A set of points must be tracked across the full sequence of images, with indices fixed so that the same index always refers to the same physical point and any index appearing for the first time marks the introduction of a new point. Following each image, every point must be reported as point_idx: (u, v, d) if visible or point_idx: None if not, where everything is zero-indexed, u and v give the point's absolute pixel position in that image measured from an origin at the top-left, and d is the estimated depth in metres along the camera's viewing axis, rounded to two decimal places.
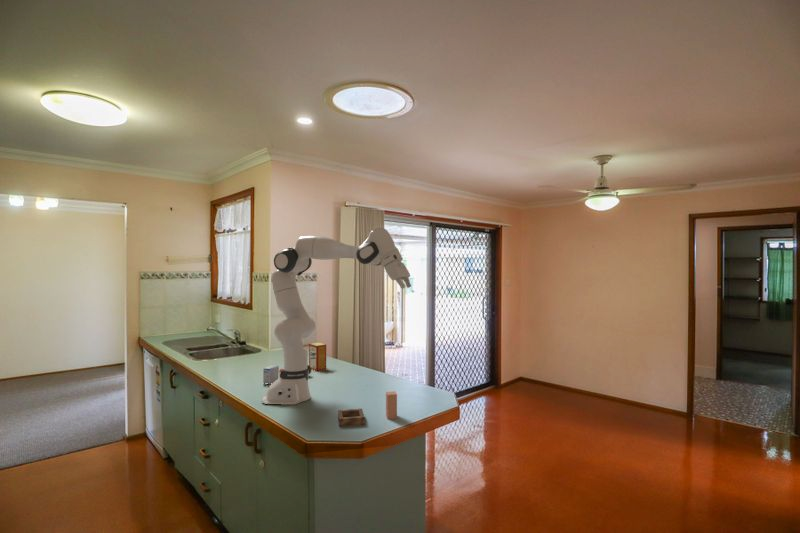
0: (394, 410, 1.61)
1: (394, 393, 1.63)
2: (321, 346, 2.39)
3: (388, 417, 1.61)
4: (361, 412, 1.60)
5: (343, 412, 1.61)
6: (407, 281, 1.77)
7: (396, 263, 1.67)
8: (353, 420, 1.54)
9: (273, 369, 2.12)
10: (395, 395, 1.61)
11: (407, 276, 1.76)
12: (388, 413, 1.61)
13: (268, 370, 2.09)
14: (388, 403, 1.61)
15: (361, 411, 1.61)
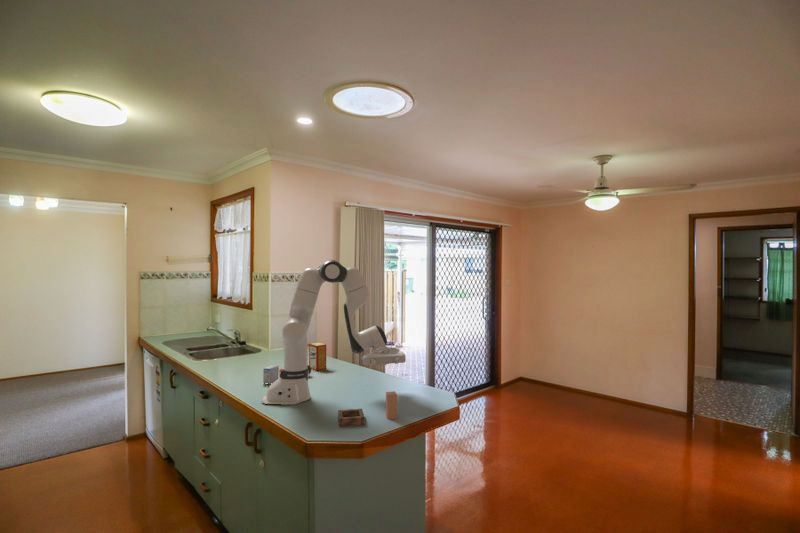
0: (394, 410, 1.61)
1: (394, 393, 1.63)
2: (321, 346, 2.39)
3: (388, 417, 1.61)
4: (361, 412, 1.60)
5: (343, 412, 1.61)
6: None
7: None
8: (353, 420, 1.54)
9: (273, 369, 2.12)
10: (395, 395, 1.61)
11: None
12: (388, 413, 1.61)
13: (268, 370, 2.09)
14: (388, 403, 1.61)
15: (361, 411, 1.61)
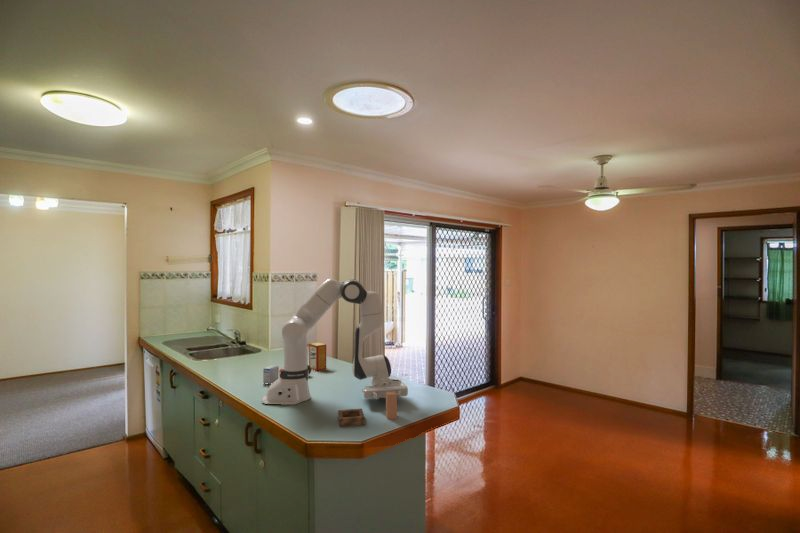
0: (394, 410, 1.61)
1: (394, 393, 1.63)
2: (321, 346, 2.39)
3: (388, 417, 1.61)
4: (361, 412, 1.60)
5: (343, 412, 1.61)
6: None
7: None
8: (353, 420, 1.54)
9: (273, 369, 2.12)
10: (395, 395, 1.61)
11: None
12: (388, 413, 1.61)
13: (268, 370, 2.09)
14: (388, 403, 1.61)
15: (361, 411, 1.61)
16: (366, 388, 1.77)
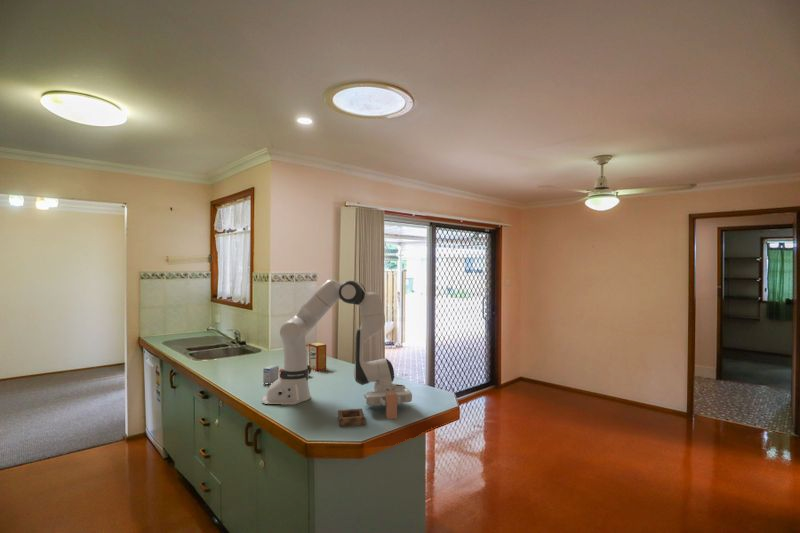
0: (394, 409, 1.61)
1: (394, 393, 1.63)
2: (321, 346, 2.39)
3: (388, 417, 1.61)
4: (361, 412, 1.60)
5: (343, 412, 1.61)
6: None
7: None
8: (353, 420, 1.54)
9: (273, 369, 2.12)
10: (395, 395, 1.61)
11: (379, 403, 1.66)
12: (388, 413, 1.61)
13: (268, 370, 2.09)
14: (388, 403, 1.61)
15: (361, 411, 1.61)
16: (368, 394, 1.68)
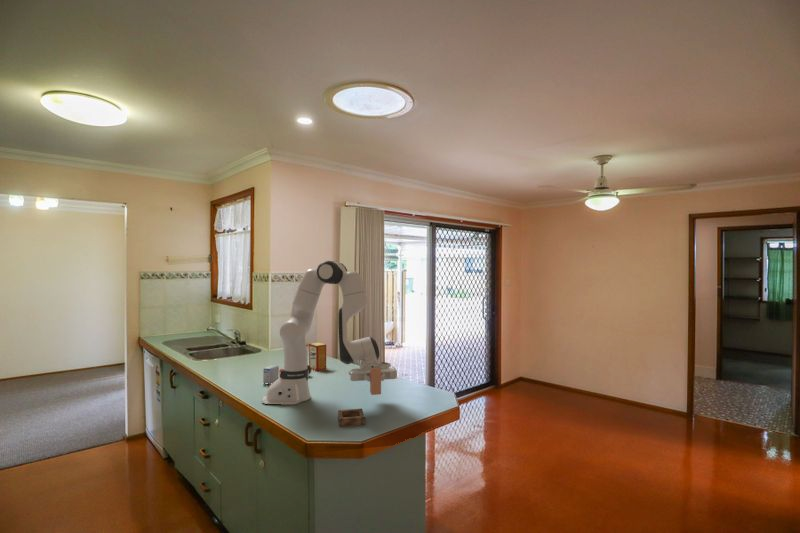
0: (378, 385, 1.60)
1: (378, 369, 1.61)
2: (321, 346, 2.39)
3: (372, 393, 1.59)
4: (361, 412, 1.60)
5: (343, 412, 1.61)
6: None
7: None
8: (353, 420, 1.54)
9: (273, 369, 2.12)
10: (379, 371, 1.60)
11: (363, 380, 1.64)
12: (372, 389, 1.59)
13: (268, 370, 2.09)
14: (372, 379, 1.59)
15: (361, 411, 1.61)
16: (353, 370, 1.67)
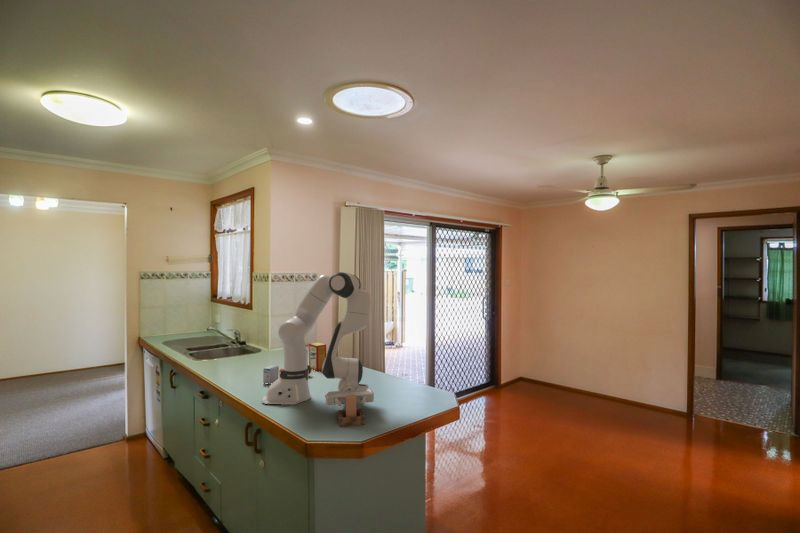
0: (353, 413, 1.57)
1: (354, 396, 1.58)
2: (321, 346, 2.39)
3: None
4: (361, 412, 1.60)
5: (343, 412, 1.61)
6: None
7: None
8: (353, 420, 1.54)
9: (273, 369, 2.12)
10: (354, 399, 1.57)
11: None
12: None
13: (268, 370, 2.09)
14: (347, 407, 1.56)
15: (361, 411, 1.61)
16: (329, 394, 1.64)
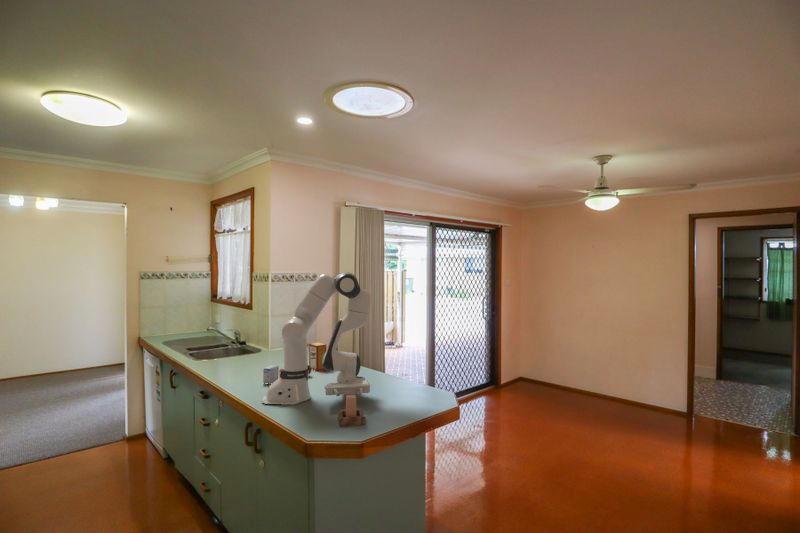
0: (353, 413, 1.57)
1: (354, 396, 1.58)
2: (321, 346, 2.39)
3: None
4: (361, 412, 1.60)
5: (343, 412, 1.61)
6: None
7: None
8: (353, 420, 1.54)
9: (273, 369, 2.12)
10: (354, 399, 1.57)
11: None
12: None
13: (268, 370, 2.09)
14: (347, 407, 1.56)
15: (361, 411, 1.61)
16: (328, 385, 1.76)
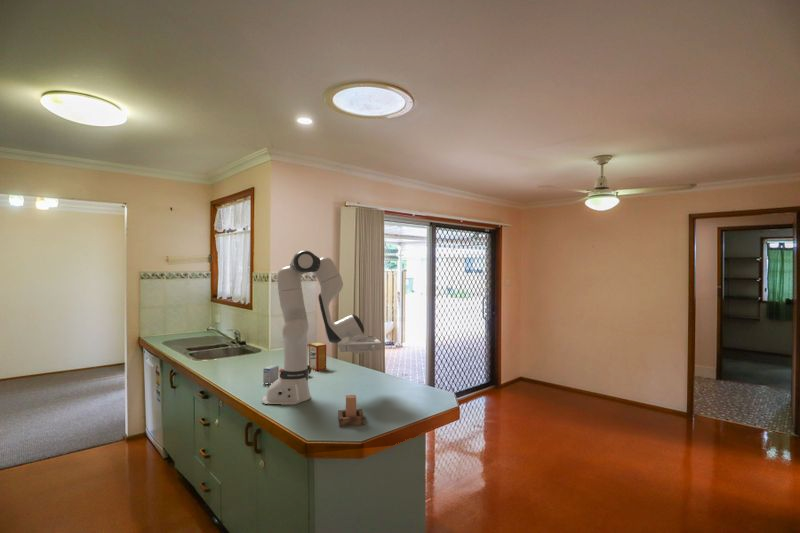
0: (353, 413, 1.57)
1: (354, 396, 1.58)
2: (321, 346, 2.39)
3: None
4: (361, 412, 1.60)
5: (343, 412, 1.61)
6: None
7: None
8: (353, 420, 1.54)
9: (273, 369, 2.12)
10: (354, 399, 1.57)
11: None
12: None
13: (268, 370, 2.09)
14: (347, 407, 1.56)
15: (361, 411, 1.61)
16: (341, 343, 1.81)
